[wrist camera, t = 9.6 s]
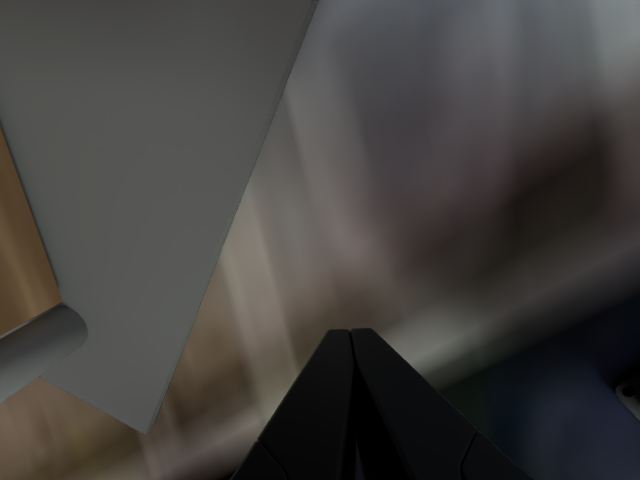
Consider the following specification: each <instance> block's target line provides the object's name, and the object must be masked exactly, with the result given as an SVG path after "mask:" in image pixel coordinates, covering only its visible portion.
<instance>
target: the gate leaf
mask: <svg viewBox="0 0 640 480" xmlns="http://www.w3.org/2000/svg"><path fill="white" fill-rule="evenodd" d="M61 302H63V301H62V298H61V295H60V292H59V290H58V287H57V284H56V281H55V278H54V276H53V273H52V270H51V267H50V264H49V262H48V259H47V256H46V253H45V250H44V248H43V245H42V242H41V239H40V236H39V234H38V231H37V228H36V225H35V222H34V220H33V217H32V214H31V211H30V208H29V206H28V203H27V200H26V197H25V194H24V192H23V189H22V186H21V183H20V180H19V178H18V175H17V172H16V169H15V166H14V164H13V161H12V158H11V155H10V152H9V150H8V147H7V144H6V141H5V138H4V136H3V133H2V130H1V127H0V336H1V335H3V334H4V333H6V332H8V331H10V330H12V329H14V328H15V327H17V326H19V325H21V324H23V323H25V322H26V321H28V320H30V319H32V318H34V317H36V316H37V315H39V314H41V313H43V312H45V311H46V310H48V309H50V308H52V307H54V306H56V305H57V304H59V303H61Z"/></svg>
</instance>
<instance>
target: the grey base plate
mask: <svg viewBox="0 0 640 480" xmlns="http://www.w3.org/2000/svg"><path fill="white" fill-rule="evenodd" d="M317 2H318V0H0V127H1V130H2V133H3V136H4V138H5V141H6V144H7V147H8V150H9V152H10V155H11V158H12V161H13V164H14V166H15V169H16V172H17V175H18V178H19V180H20V183H21V186H22V189H23V192H24V194H25V197H26V200H27V203H28V206H29V208H30V211H31V214H32V217H33V220H34V222H35V225H36V228H37V231H38V234H39V236H40V239H41V242H42V245H43V248H44V250H45V253H46V256H47V259H48V262H49V264H50V267H51V270H52V273H53V276H54V278H55V281H56V284H57V287H58V290H59V292H60V295H61V298H62V301H63V302H61V303H59V304H57V305H56V306H54V307H52V308H50V309H48V310H46V311H45V312H43V313H41V314H39V315H37V316H36V317H34V318H32V319H30V320H28V321H26V322H25V323H23V324H21V325H19V326H17V327H15V328H14V329H12V330H10V331H8V332H6V333H4V334H3V335H1V336H0V403H1V402H3V401H4V400H6V399H7V398H8V397H10V396H11V395H13V394H14V393H15V392H17V391H18V390H20V389H21V388H22V387H24V386H25V385H27V384H28V383H30V382H31V381H32V380H34V379H35V378H37V377H38V376H39V377H41V378H43V379H45V380H47V381H48V382H50V383H52V384H54V385H56V386H57V387H59V388H61V389H63V390H65V391H67V392H68V393H70V394H72V395H74V396H76V397H77V398H79V399H81V400H83V401H85V402H87V403H88V404H90V405H92V406H94V407H96V408H97V409H99V410H101V411H103V412H105V413H107V414H108V415H110V416H112V417H114V418H116V419H117V420H119V421H121V422H123V423H125V424H126V425H128V426H130V427H132V428H134V429H136V430H137V431H139V432H141V433H143V434H145V435H146V433H147V432H148V431H149V430H150V429H151V428H152V426H153V425H154V422H155V420H156V417H157V415H158V412H159V409H160V407H161V404H162V402H163V399H164V397H165V394H166V391H167V389H168V386H169V384H170V381H171V379H172V376H173V373H174V371H175V368H176V366H177V363H178V360H179V358H180V355H181V353H182V350H183V348H184V345H185V342H186V340H187V337H188V335H189V332H190V330H191V327H192V324H193V322H194V319H195V317H196V314H197V312H198V309H199V306H200V304H201V301H202V299H203V296H204V293H205V291H206V288H207V286H208V283H209V281H210V278H211V275H212V273H213V270H214V268H215V265H216V263H217V260H218V257H219V255H220V252H221V250H222V247H223V244H224V242H225V239H226V237H227V234H228V232H229V229H230V226H231V224H232V221H233V219H234V216H235V214H236V211H237V208H238V206H239V203H240V201H241V198H242V196H243V193H244V190H245V188H246V185H247V183H248V180H249V177H250V175H251V172H252V170H253V167H254V165H255V162H256V159H257V157H258V154H259V152H260V149H261V147H262V144H263V141H264V139H265V136H266V134H267V131H268V128H269V126H270V123H271V121H272V118H273V116H274V113H275V110H276V108H277V105H278V103H279V100H280V98H281V95H282V92H283V90H284V87H285V85H286V82H287V80H288V77H289V74H290V72H291V69H292V67H293V64H294V61H295V59H296V56H297V54H298V51H299V49H300V46H301V43H302V41H303V38H304V36H305V33H306V31H307V28H308V25H309V23H310V20H311V18H312V15H313V12H314V10H315V7H316V5H317Z"/></svg>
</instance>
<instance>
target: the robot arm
mask: <svg viewBox="0 0 640 480" xmlns="http://www.w3.org/2000/svg"><path fill="white" fill-rule="evenodd" d="M626 386H631V388H630V389H629V390H628V391H622V389H623V388H624V387H626ZM612 390H613V391H614V393H615V394H616V396H617V397H618V399H619V400H620V401H621V402H622V403H623V404H624V405H625V406H626V407H627V408H628V409H629V410H630V411H631V412H632V413H633V414H634V415H635V416H636V417H637V418H638V419H639V420H640V364H639V365H637V366H636V367H634V368H632V369H631V370H629V371H627V372H626V373H624V374H622V375H621V376H619V377H617V378H616V379H615V380H614V381H613V383H612ZM356 440H357V448H358V454H359V459H360V464H361V469H362V473H363V478H364V480H534V479H533V478H531V477H530V476H529V475H528V474H526V473H525V472H524V471H523V470H522V469H520V468H519V467H518V466H517V465H516V464H515V463H514V462H513V461H512V460H510V459H509V458H508V457H507V456H506V455H505V454H504V453H503V452H502V451H501V450H499V449H498V448H497V447H496V446H495V445H494V444H493V443H492V442H491V441H490V440H489V439H488V438H487V437H486V436H485V435H483V434H482V433H481V432H478V429H477V428H476V427H475V426H474V425H473V424H472V423H471V422H470V421H469V420H467V419H466V418H465V417H464V416H463V415H462V414H461V413H460V412H459V411H458V410H457V409H456V408H455V407H454V406H453V405H452V404H451V403H450V402H449V401H448V400H446V399H445V398H444V397H443V396H442V395H441V394H440V393H439V392H438V391H437V390H436V389H435V388H434V387H433V386H432V385H431V384H430V383H429V382H428V381H427V380H425V379H424V378H423V377H422V376H421V375H420V374H419V373H418V372H417V371H416V370H415V369H414V368H413V367H412V366H411V365H410V364H409V363H408V362H407V361H406V360H404V359H403V358H402V357H401V356H400V355H399V354H398V353H397V352H396V351H395V350H394V349H393V348H392V347H391V346H390V345H389V344H388V343H387V342H386V341H385V340H383V339H382V338H381V337H380V336H379V335H378V334H377V333H376V332H375V331H374V330H373V329H371V328H353V329H351V330H350V332H349V330H348V329H330V330H328V331H327V332H326V334H325V335H324V337H323V338H322V340H321V341H320V343H319V344H318V346H317V347H316V349H315V351H314V352H313V354H312V355H311V357H310V358H309V360H308V361H307V363H306V364H305V366H304V368H303V369H302V371H301V372H300V374H299V375H298V377H297V378H296V380H295V381H294V383H293V385H292V386H291V388H290V389H289V391H288V392H287V394H286V395H285V397H284V398H283V400H282V402H281V403H280V405H279V406H278V408H277V409H276V411H275V412H274V414H273V415H272V417H271V419H270V420H269V422H268V423H267V425H266V426H265V428H264V429H263V431H262V432H261V434H260V436H259V437H258V439H257V441H256V442H255V443H254V444H253V446H252V448H251V449H250V451H249V452H248V454H247V455H246V457H245V458H244V460H243V461H242V463H241V464H240V466H239V467H238V469H237V470H236V471H235V473H234V474H233V476H232V477H231V479H230V480H355V473H356Z"/></svg>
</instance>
